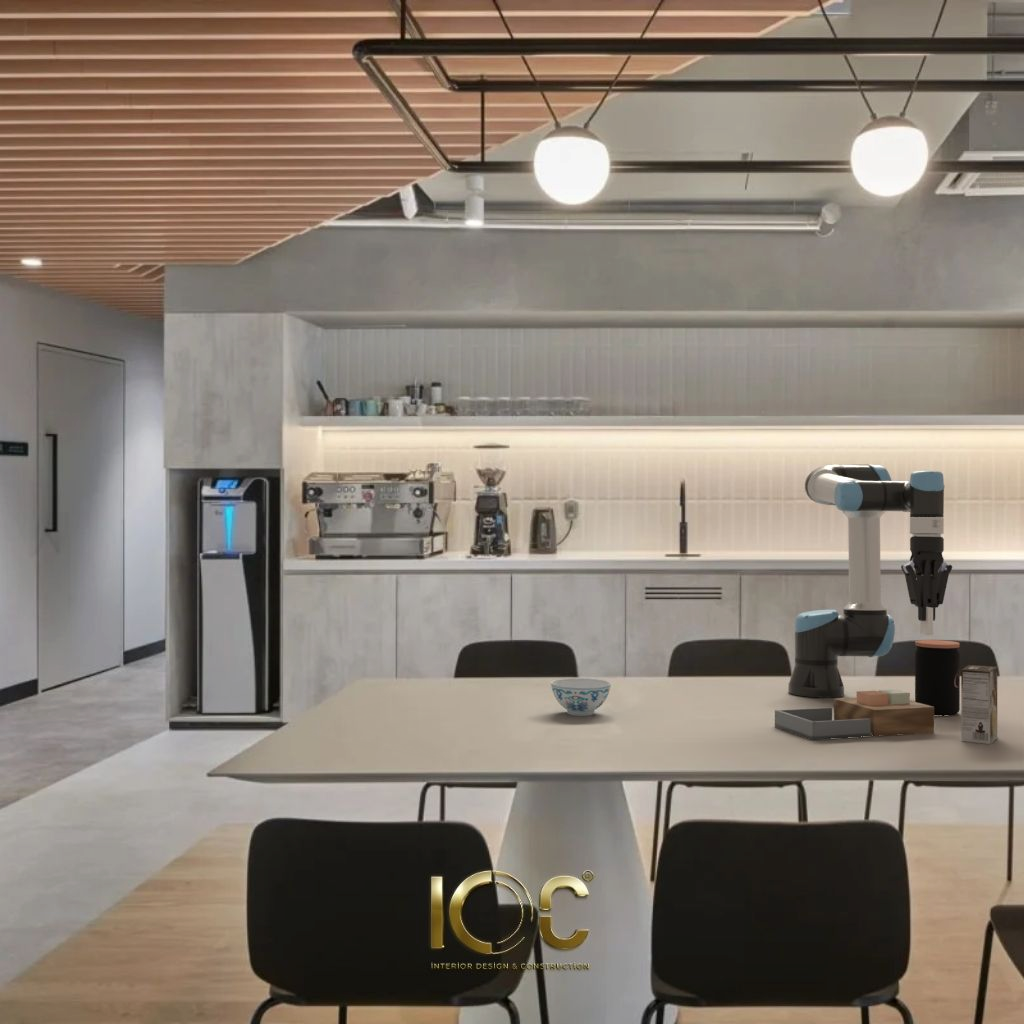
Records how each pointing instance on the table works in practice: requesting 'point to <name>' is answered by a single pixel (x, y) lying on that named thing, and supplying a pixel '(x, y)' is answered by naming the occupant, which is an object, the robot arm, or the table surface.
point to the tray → (820, 724)
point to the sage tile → (897, 696)
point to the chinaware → (580, 694)
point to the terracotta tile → (872, 697)
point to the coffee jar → (938, 675)
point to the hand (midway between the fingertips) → (926, 634)
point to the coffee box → (979, 704)
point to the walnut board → (888, 716)
